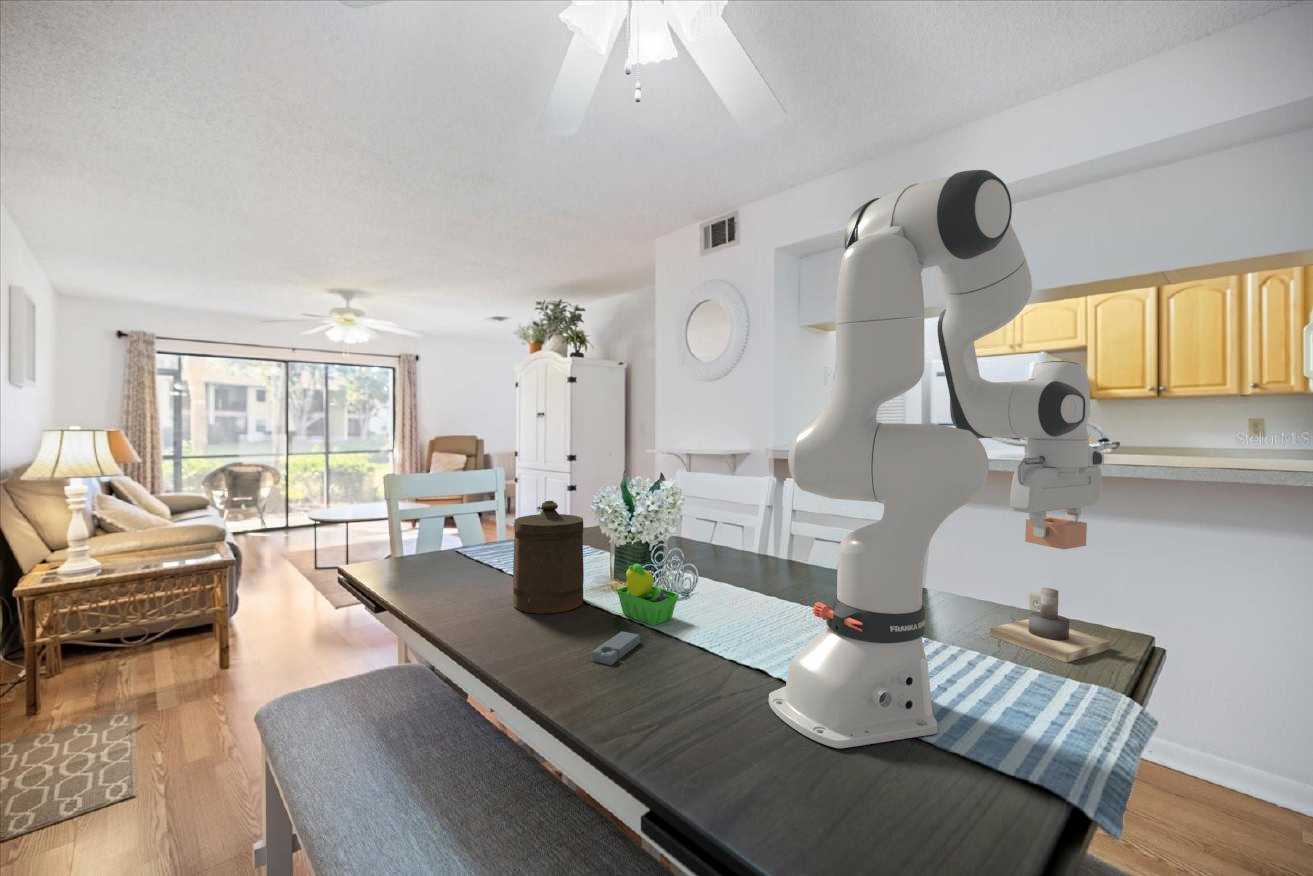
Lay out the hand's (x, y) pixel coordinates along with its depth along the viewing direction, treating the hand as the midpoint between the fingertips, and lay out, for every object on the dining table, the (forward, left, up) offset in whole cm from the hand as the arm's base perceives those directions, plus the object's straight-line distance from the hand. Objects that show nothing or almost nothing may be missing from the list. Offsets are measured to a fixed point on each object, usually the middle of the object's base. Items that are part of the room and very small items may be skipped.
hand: (1054, 534), depth 100 cm
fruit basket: (-59, +43, -20) cm, 76 cm away
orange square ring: (0, 0, -2) cm, 2 cm away
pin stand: (+1, +1, -20) cm, 20 cm away
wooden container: (-74, +60, -20) cm, 98 cm away
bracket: (-70, +30, -21) cm, 79 cm away
